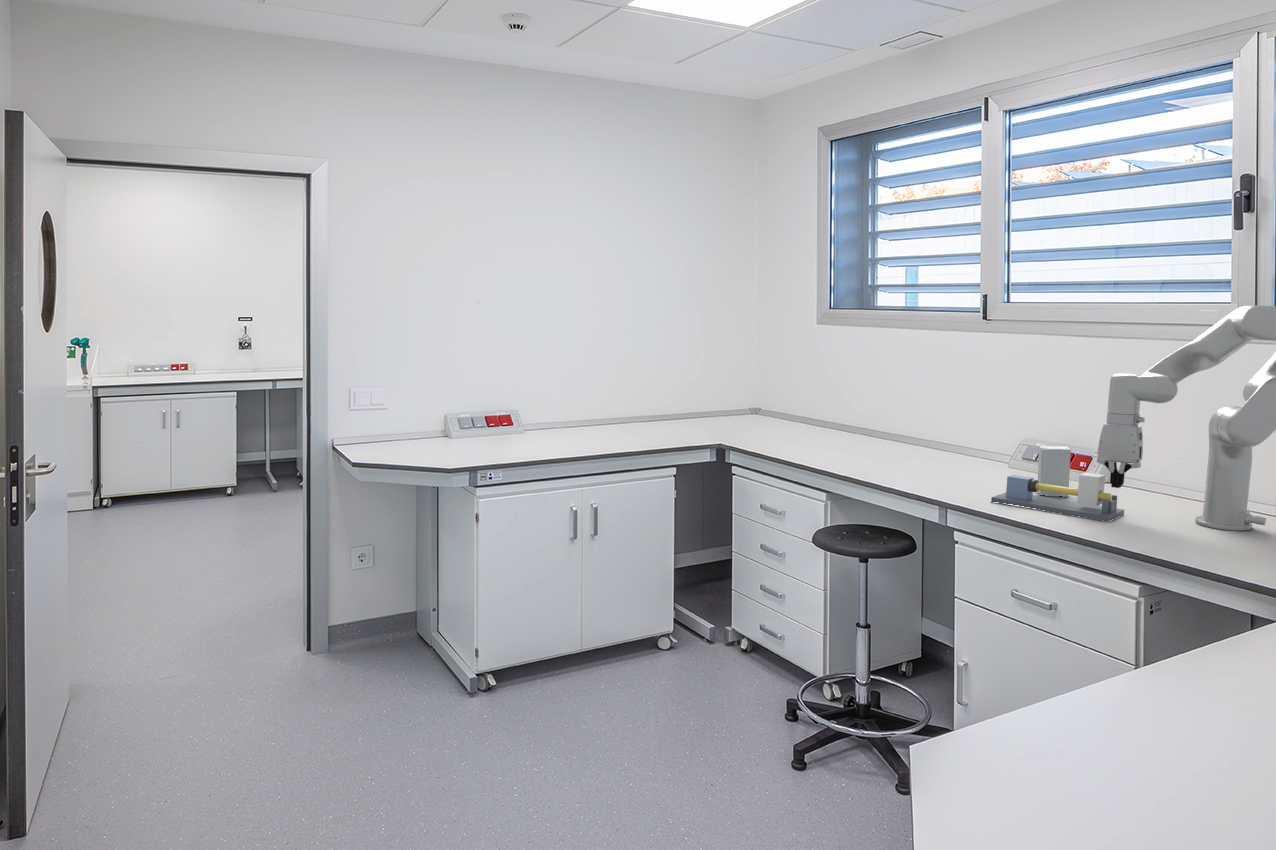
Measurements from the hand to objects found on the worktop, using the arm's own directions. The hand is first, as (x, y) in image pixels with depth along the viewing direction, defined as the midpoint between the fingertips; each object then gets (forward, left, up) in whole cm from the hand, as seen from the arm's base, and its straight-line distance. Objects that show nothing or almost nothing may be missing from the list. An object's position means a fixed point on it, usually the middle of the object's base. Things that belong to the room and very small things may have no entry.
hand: (1116, 486), depth 240 cm
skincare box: (+23, -18, -9) cm, 31 cm away
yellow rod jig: (+15, 0, -9) cm, 18 cm away
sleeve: (+6, 0, -6) cm, 8 cm away
